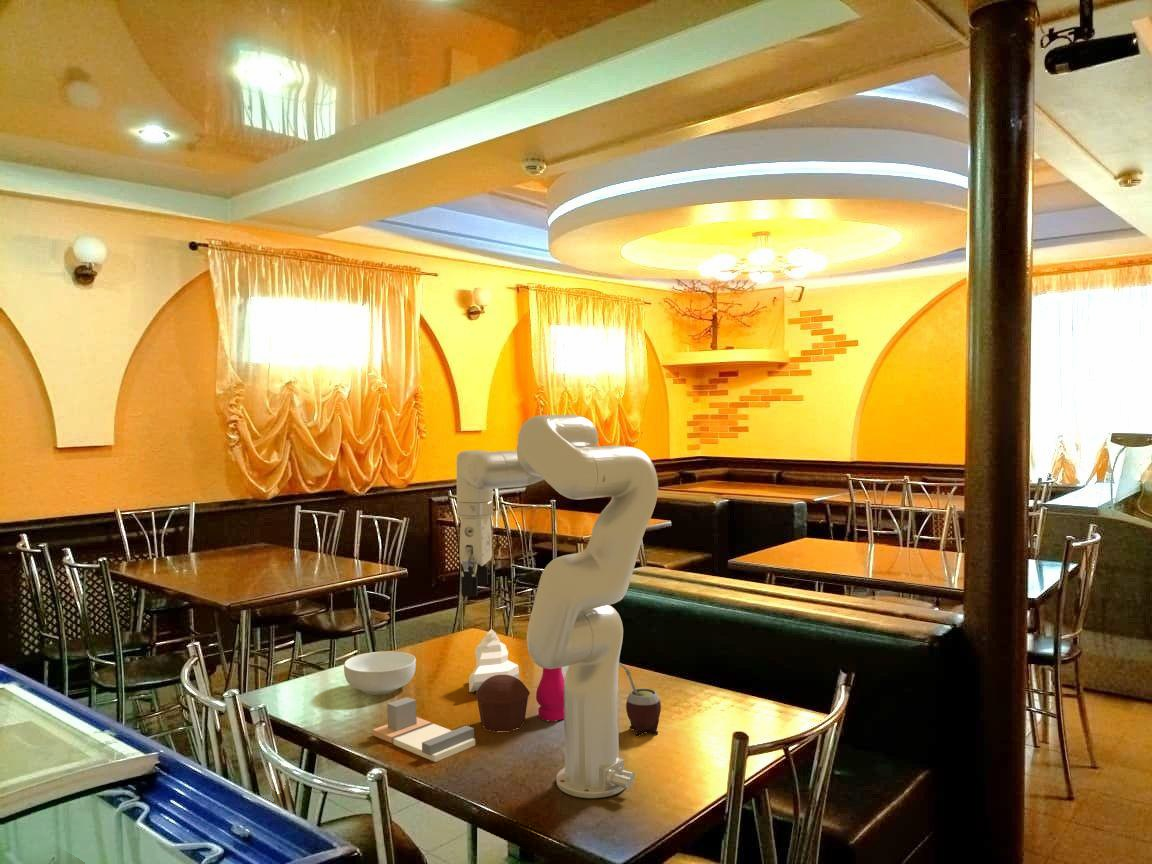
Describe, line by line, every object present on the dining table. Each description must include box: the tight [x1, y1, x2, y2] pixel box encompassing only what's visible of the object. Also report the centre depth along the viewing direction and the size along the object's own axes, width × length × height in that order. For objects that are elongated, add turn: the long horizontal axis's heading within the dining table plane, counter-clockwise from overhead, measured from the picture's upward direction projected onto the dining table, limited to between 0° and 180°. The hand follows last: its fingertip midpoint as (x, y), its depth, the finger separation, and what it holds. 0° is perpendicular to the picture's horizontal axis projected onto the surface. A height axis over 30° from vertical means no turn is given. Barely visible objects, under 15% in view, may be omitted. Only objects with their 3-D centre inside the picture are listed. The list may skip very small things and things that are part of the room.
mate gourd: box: [619, 662, 662, 737], centre depth 166 cm, size 8×8×15 cm
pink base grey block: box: [372, 696, 432, 744], centre depth 168 cm, size 6×10×6 cm, turn 139°
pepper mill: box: [535, 667, 565, 722], centre depth 175 cm, size 7×7×20 cm
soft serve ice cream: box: [468, 628, 520, 693], centre depth 196 cm, size 12×15×14 cm
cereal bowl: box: [343, 650, 417, 696], centre depth 194 cm, size 17×17×7 cm
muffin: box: [474, 675, 531, 733], centre depth 171 cm, size 12×11×10 cm
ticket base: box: [392, 722, 476, 763], centre depth 161 cm, size 13×11×3 cm
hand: (475, 590), depth 171 cm, fingers open, 9 cm apart
